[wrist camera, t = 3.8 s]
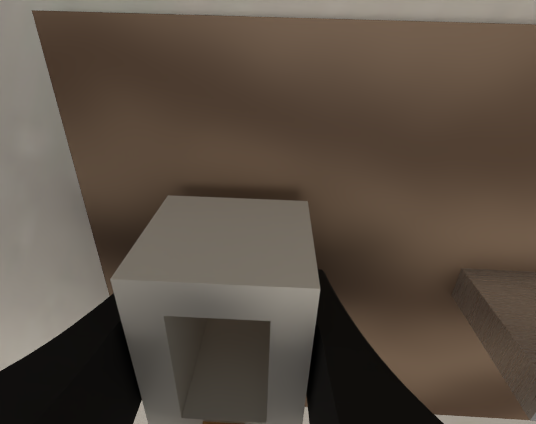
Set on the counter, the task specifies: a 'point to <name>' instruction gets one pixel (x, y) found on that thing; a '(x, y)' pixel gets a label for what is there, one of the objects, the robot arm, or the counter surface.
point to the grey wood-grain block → (504, 324)
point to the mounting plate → (323, 157)
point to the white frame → (221, 310)
